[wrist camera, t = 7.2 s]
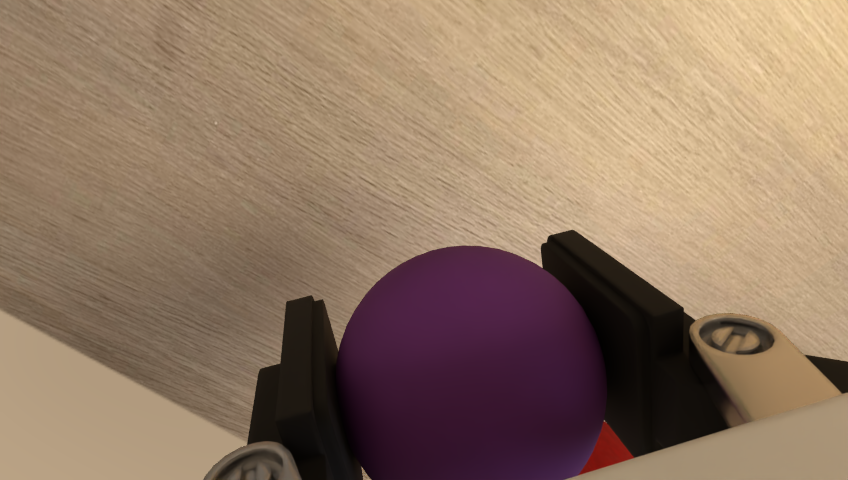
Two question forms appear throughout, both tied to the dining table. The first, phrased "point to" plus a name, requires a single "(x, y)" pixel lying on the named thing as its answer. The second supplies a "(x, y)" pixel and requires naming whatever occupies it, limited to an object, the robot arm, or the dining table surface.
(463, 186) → the dining table surface
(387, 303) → the ball
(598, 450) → the apple
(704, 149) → the dining table surface
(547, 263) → the robot arm
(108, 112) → the dining table surface
